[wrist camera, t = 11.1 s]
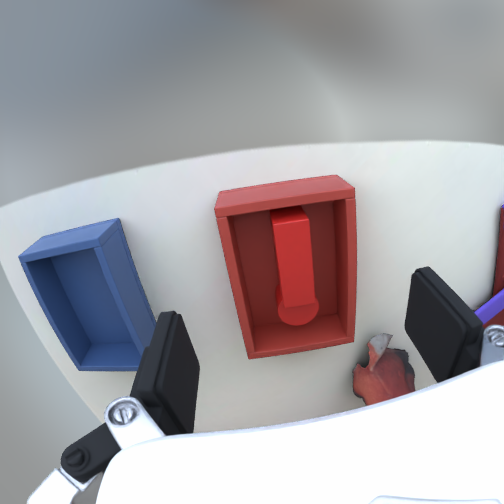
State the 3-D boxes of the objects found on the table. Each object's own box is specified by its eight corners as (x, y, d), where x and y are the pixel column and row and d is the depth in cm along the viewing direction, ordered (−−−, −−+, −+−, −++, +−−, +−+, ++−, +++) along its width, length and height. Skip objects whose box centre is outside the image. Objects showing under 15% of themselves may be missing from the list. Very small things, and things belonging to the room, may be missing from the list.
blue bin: (42, 236, 20) (17, 256, 17) (119, 217, 20) (98, 237, 17) (92, 344, 25) (78, 370, 22) (164, 340, 25) (155, 370, 21)
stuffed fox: (406, 304, 24) (473, 410, 13) (420, 372, 28) (462, 457, 17) (329, 342, 25) (365, 464, 14) (360, 402, 30) (387, 493, 19)
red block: (262, 207, 19) (265, 225, 16) (305, 201, 19) (316, 218, 16) (277, 310, 23) (281, 338, 20) (313, 304, 23) (322, 331, 20)
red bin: (219, 191, 19) (213, 208, 16) (336, 174, 19) (355, 187, 16) (247, 328, 24) (248, 359, 21) (341, 312, 24) (354, 342, 21)
